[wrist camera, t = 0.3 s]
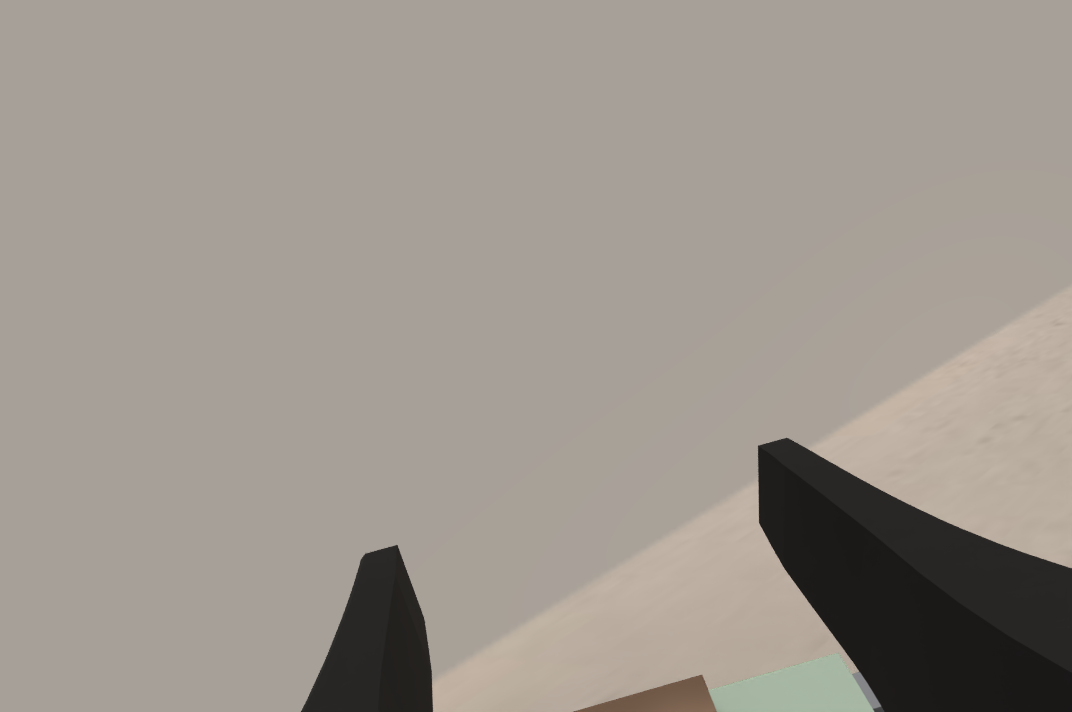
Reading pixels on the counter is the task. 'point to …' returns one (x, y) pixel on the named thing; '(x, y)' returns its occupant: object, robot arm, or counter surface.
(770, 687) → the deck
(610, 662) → the counter surface
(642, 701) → the brown rectangular blocks
